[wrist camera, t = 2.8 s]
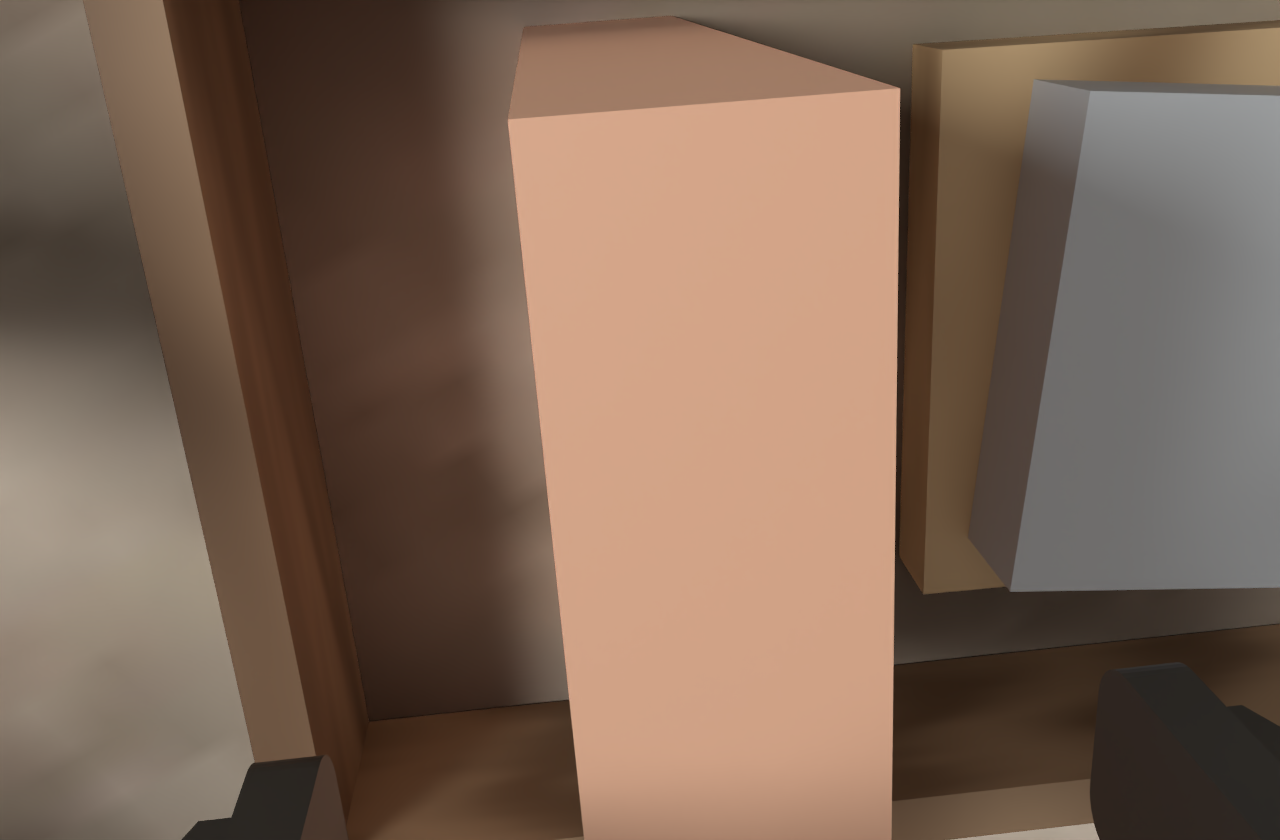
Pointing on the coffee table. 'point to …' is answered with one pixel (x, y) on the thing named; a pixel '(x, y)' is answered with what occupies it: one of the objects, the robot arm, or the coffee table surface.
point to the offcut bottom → (998, 242)
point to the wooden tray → (308, 554)
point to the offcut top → (1138, 344)
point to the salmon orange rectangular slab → (715, 423)
